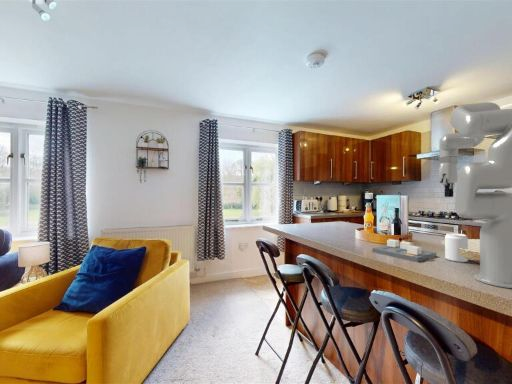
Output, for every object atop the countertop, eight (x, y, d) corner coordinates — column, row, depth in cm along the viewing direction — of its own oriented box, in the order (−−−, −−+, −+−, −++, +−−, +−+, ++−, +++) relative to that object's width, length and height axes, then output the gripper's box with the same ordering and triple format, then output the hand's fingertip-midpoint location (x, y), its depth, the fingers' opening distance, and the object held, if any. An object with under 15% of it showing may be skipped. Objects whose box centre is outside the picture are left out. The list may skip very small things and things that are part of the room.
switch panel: (436, 256, 118) (436, 251, 118) (417, 262, 109) (417, 257, 109) (391, 247, 137) (391, 243, 137) (372, 252, 128) (372, 247, 128)
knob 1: (399, 246, 130) (399, 239, 130) (395, 247, 128) (395, 240, 128) (391, 245, 134) (391, 238, 134) (387, 245, 132) (387, 239, 132)
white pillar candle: (459, 263, 106) (459, 236, 106) (440, 258, 114) (440, 233, 114) (472, 262, 109) (472, 235, 109) (453, 257, 116) (453, 232, 116)
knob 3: (421, 253, 114) (421, 246, 114) (417, 255, 112) (417, 247, 112) (411, 252, 118) (411, 244, 118) (407, 253, 116) (407, 245, 116)
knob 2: (413, 249, 124) (413, 242, 124) (409, 250, 122) (409, 243, 122) (404, 247, 128) (404, 240, 128) (400, 248, 126) (400, 241, 126)
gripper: (446, 162, 131) (446, 196, 131) (433, 161, 123) (433, 197, 123) (463, 161, 124) (464, 196, 124) (451, 159, 116) (451, 197, 116)
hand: (448, 196), depth 124 cm, fingers closed
